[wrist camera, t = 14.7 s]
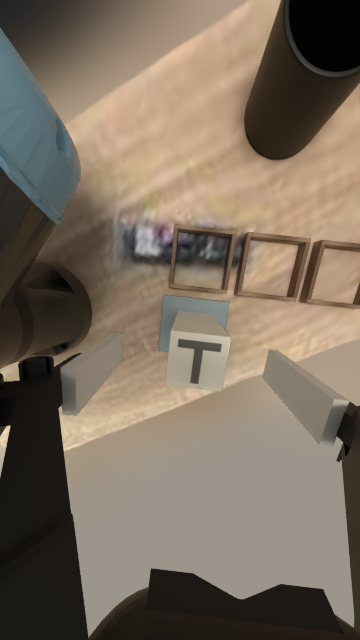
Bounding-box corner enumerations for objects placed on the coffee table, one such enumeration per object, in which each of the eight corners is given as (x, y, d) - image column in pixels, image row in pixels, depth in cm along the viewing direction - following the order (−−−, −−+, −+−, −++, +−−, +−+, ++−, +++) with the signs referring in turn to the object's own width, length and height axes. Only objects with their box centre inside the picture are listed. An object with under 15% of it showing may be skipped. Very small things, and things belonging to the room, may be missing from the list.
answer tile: (159, 348, 28) (158, 350, 27) (164, 294, 26) (163, 295, 25) (218, 355, 28) (220, 358, 27) (227, 301, 26) (229, 302, 25)
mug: (347, 132, 21) (462, 23, 12) (255, 173, 23) (299, 99, 14) (333, 44, 20) (453, -155, 11) (234, 92, 21) (269, -50, 12)
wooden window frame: (234, 294, 26) (237, 294, 24) (244, 235, 24) (248, 231, 23) (289, 300, 26) (295, 301, 24) (303, 241, 24) (311, 238, 22)
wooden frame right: (299, 301, 26) (306, 302, 24) (314, 242, 24) (322, 239, 22) (355, 308, 25) (365, 309, 24) (374, 249, 24) (386, 246, 22)
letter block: (174, 341, 27) (165, 386, 15) (178, 310, 26) (170, 330, 14) (206, 345, 26) (221, 393, 15) (210, 314, 25) (231, 337, 14)
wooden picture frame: (169, 287, 26) (168, 287, 24) (175, 227, 24) (174, 224, 23) (224, 293, 26) (226, 293, 24) (234, 234, 24) (237, 230, 23)
